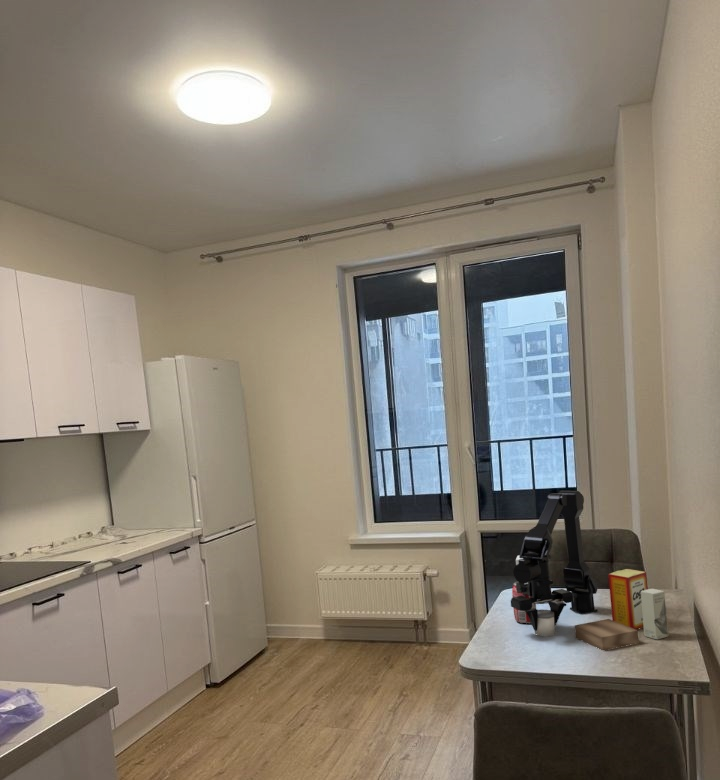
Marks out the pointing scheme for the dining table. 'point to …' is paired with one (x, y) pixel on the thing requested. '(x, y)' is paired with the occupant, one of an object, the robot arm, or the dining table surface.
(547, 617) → the ceramic jar
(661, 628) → the box
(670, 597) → the dining table surface
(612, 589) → the baking soda box
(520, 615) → the soda can
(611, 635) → the walnut block
